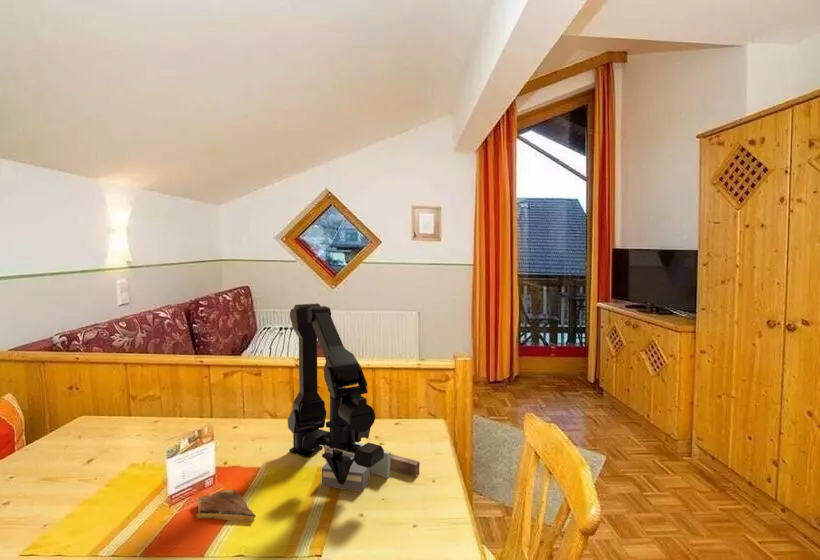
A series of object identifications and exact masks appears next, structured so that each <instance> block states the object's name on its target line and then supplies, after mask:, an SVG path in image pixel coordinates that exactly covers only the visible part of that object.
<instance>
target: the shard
mask: <svg viewBox="0 0 820 560" xmlns="http://www.w3.org/2000/svg"><path fill="white" fill-rule="evenodd" d="M195 500H196V504H197V505H198V508H197V509H198V510H197V512H196V514H195V517H196V518H197V519H216V520H223V521H232V522H254V521H255V518H256V514H255V513H254V512H253V510H251V508H250V507H249V506H248V504H247V502H246V501H245V499H244V498H243V497H242V495H240V493H238V492H237V491H236V490H235V489H229V490H228V489H227V490H226V489H225V490H219V491H216V492H213V493H210V494H207V495H203V496H200V497H197V498H196V499H195Z"/></svg>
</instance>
